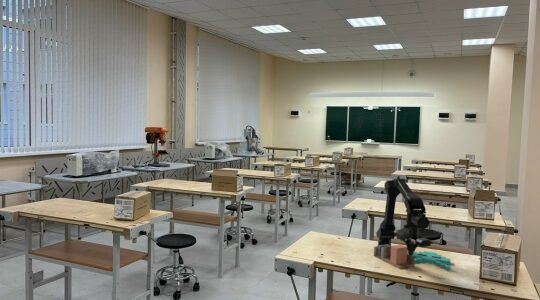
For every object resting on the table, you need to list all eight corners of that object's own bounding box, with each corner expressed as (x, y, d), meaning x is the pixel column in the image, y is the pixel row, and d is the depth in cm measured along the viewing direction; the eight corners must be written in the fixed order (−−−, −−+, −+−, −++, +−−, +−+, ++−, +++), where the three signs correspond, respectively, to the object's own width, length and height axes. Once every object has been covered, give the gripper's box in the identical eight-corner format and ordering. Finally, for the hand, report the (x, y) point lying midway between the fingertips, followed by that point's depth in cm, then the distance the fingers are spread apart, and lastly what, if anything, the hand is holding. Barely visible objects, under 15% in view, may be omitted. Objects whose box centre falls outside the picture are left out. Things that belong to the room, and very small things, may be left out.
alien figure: (450, 272, 188) (450, 259, 206) (450, 267, 187) (450, 255, 205) (406, 264, 196) (410, 252, 214) (406, 259, 196) (410, 248, 214)
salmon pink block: (401, 260, 197) (402, 244, 197) (406, 262, 194) (407, 247, 193) (390, 261, 194) (391, 246, 194) (395, 264, 191) (396, 248, 190)
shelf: (387, 254, 209) (387, 242, 208) (413, 266, 191) (414, 253, 191) (373, 255, 205) (374, 243, 204) (399, 268, 188) (400, 255, 187)
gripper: (385, 219, 191) (383, 250, 192) (414, 230, 174) (412, 264, 175) (403, 218, 195) (401, 248, 196) (432, 228, 178) (430, 261, 179)
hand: (410, 255), depth 187 cm, fingers closed
